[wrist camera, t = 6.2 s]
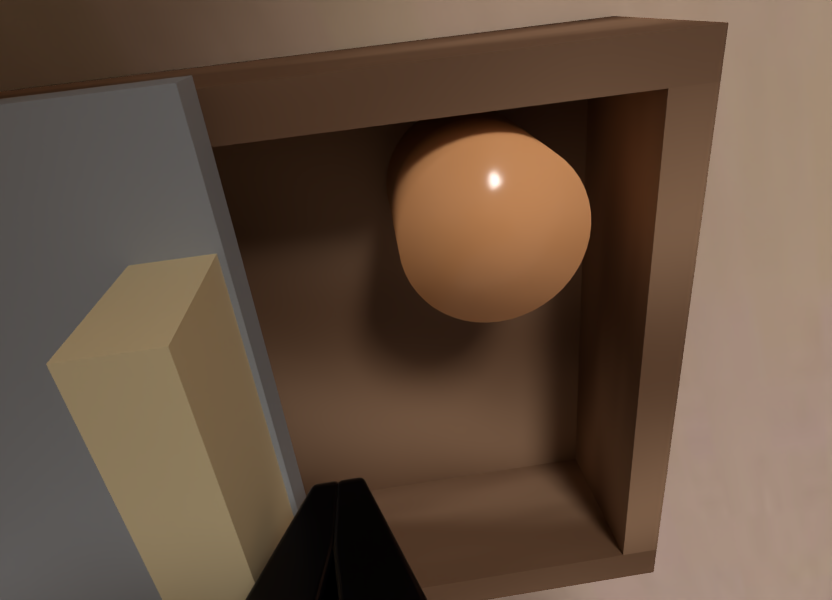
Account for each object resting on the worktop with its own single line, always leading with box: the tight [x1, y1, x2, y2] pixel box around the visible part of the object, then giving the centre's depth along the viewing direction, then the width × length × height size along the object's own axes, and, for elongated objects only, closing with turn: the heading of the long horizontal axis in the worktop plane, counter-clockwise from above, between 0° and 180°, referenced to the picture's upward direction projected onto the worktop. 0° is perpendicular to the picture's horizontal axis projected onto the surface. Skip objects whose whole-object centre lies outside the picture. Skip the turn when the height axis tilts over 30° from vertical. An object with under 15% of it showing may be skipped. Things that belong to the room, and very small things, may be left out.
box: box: [0, 16, 728, 600], centre depth 12 cm, size 12×14×4 cm
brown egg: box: [386, 111, 591, 323], centre depth 11 cm, size 3×3×3 cm
